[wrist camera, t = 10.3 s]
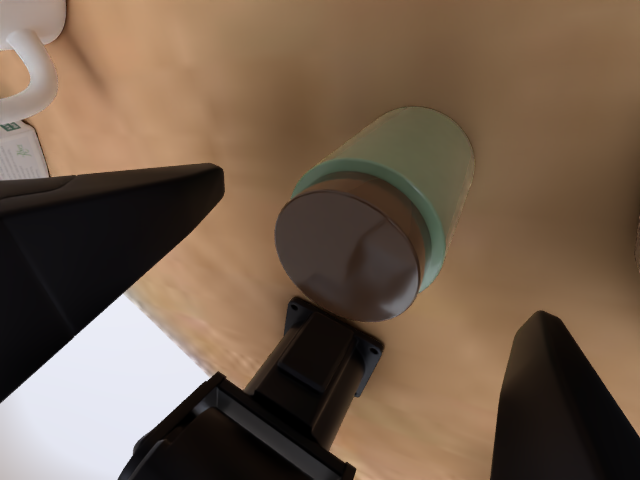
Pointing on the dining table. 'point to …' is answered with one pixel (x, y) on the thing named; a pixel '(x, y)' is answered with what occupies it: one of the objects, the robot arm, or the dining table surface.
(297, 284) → the spice jar
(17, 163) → the syrup box
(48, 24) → the cup
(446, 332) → the dining table surface
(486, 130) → the dining table surface
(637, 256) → the black frying pan
